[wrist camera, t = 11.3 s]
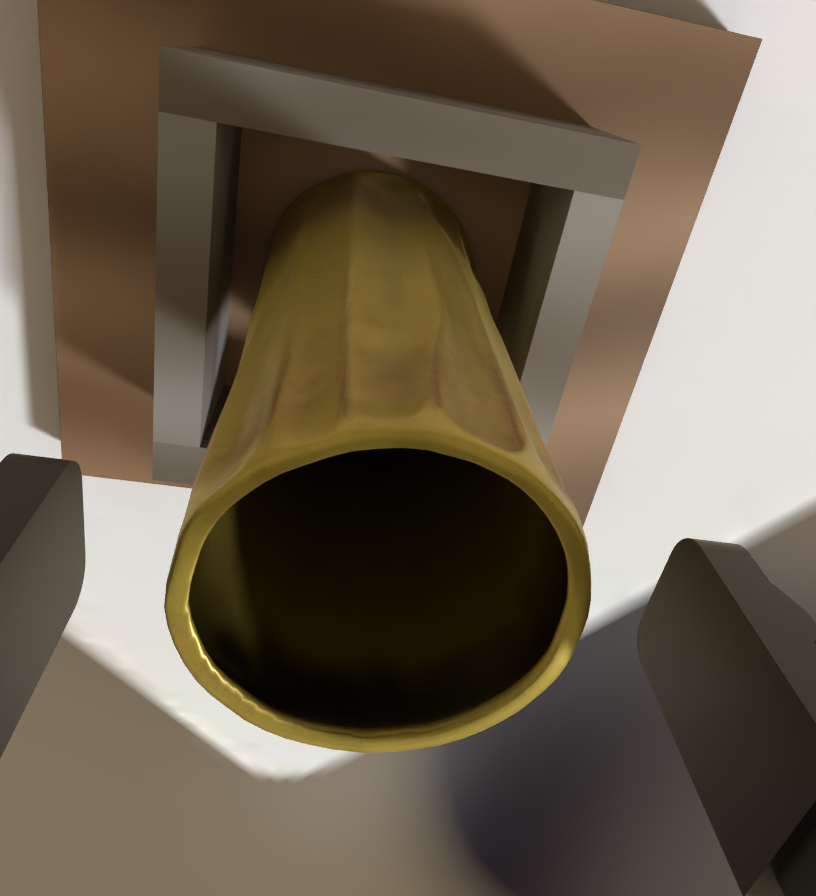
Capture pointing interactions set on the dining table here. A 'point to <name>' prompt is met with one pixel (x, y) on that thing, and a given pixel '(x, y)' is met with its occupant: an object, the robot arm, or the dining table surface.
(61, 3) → the dock
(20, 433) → the dining table surface
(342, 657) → the vase
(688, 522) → the dining table surface
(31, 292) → the dining table surface
